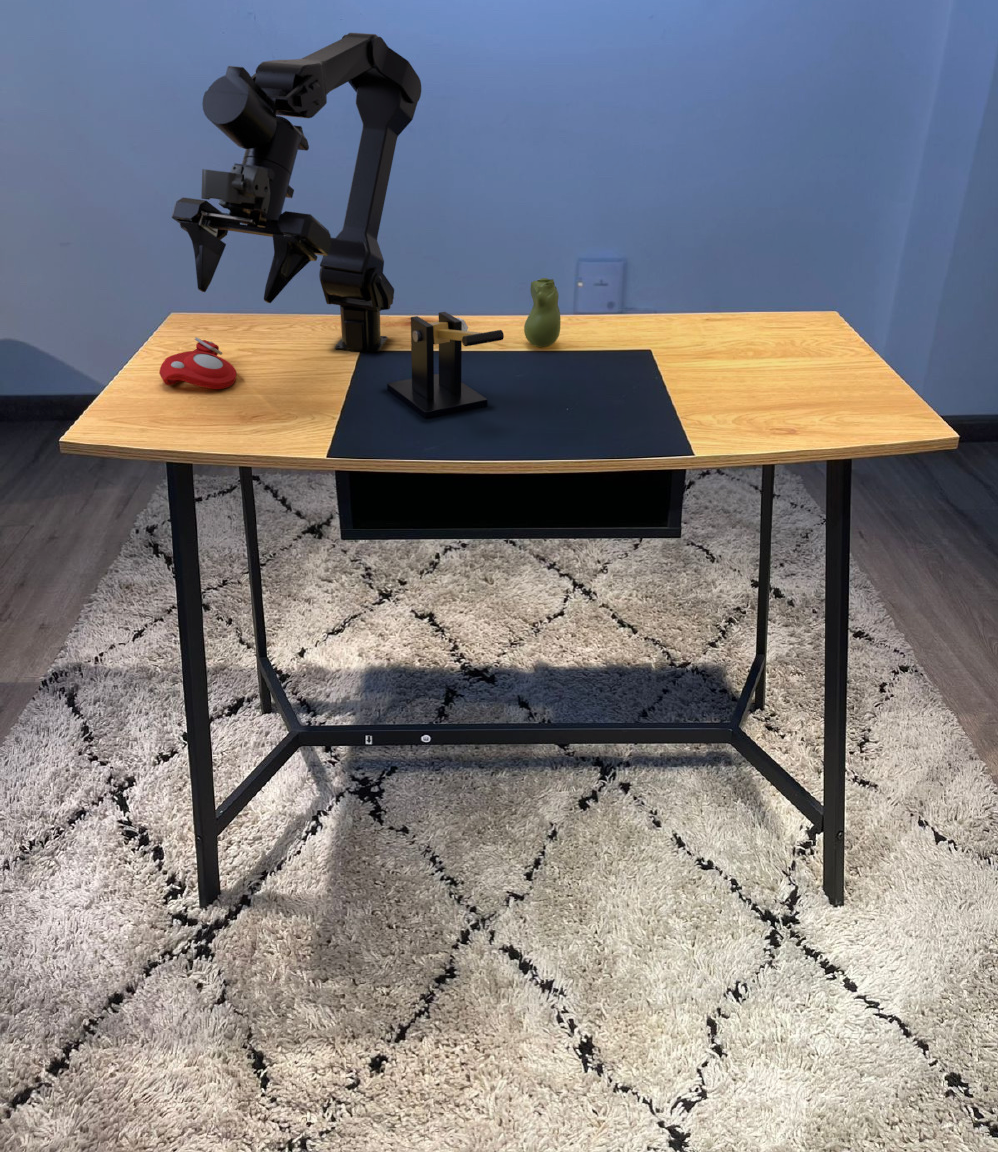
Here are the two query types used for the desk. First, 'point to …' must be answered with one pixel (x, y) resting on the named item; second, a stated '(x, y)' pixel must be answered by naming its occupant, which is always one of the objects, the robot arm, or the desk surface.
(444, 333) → the latch lever
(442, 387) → the latch bracket
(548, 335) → the green vase
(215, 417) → the desk surface
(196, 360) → the tracker holder
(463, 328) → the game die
